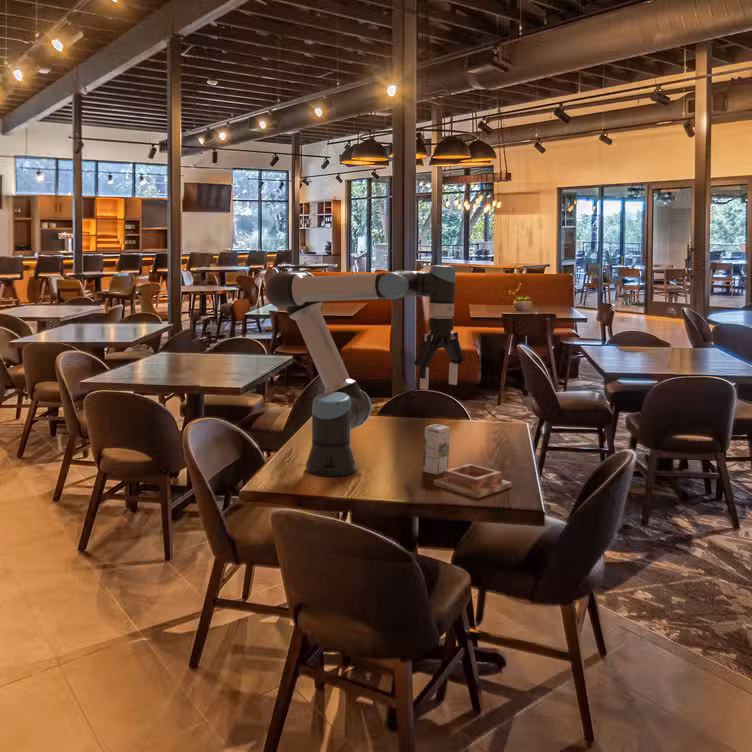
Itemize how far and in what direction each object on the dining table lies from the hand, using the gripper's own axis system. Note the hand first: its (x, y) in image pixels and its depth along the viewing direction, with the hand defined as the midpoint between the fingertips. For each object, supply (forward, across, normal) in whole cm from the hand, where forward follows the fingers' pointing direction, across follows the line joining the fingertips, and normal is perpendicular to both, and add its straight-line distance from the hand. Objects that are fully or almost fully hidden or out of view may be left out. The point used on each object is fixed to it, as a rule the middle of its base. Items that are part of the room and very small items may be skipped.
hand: (438, 386), depth 243 cm
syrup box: (+27, 0, 0) cm, 27 cm away
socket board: (+27, -4, -17) cm, 32 cm away
